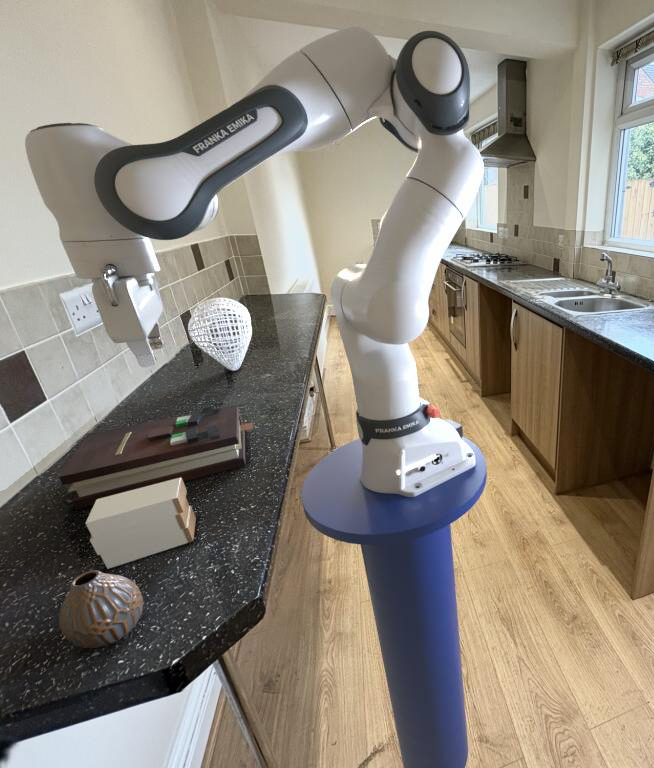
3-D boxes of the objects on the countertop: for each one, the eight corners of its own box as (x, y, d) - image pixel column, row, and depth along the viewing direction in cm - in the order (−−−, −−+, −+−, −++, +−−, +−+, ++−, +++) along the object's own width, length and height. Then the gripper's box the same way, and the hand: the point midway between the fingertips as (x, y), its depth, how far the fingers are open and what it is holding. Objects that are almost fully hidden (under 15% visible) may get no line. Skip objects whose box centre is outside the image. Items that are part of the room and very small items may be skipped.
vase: (80, 626, 51) (48, 573, 47) (151, 596, 54) (127, 546, 51) (69, 671, 46) (33, 617, 42) (149, 635, 49) (122, 582, 46)
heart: (264, 379, 126) (245, 307, 117) (203, 390, 118) (178, 314, 109) (260, 354, 147) (244, 292, 139) (208, 362, 140) (188, 297, 131)
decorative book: (71, 430, 81) (248, 397, 95) (87, 463, 84) (256, 425, 98) (33, 481, 66) (249, 432, 80) (53, 518, 68) (259, 464, 83)
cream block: (187, 491, 66) (181, 476, 65) (183, 512, 61) (177, 497, 60) (103, 514, 61) (96, 499, 60) (93, 539, 56) (84, 523, 55)
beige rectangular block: (196, 518, 68) (185, 491, 66) (193, 541, 64) (182, 513, 61) (114, 543, 63) (100, 514, 61) (105, 570, 58) (89, 540, 56)
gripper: (133, 267, 50) (173, 372, 55) (154, 254, 66) (183, 336, 71) (61, 272, 47) (111, 382, 52) (102, 257, 63) (137, 343, 68)
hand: (153, 356), depth 62 cm, fingers open, 8 cm apart
